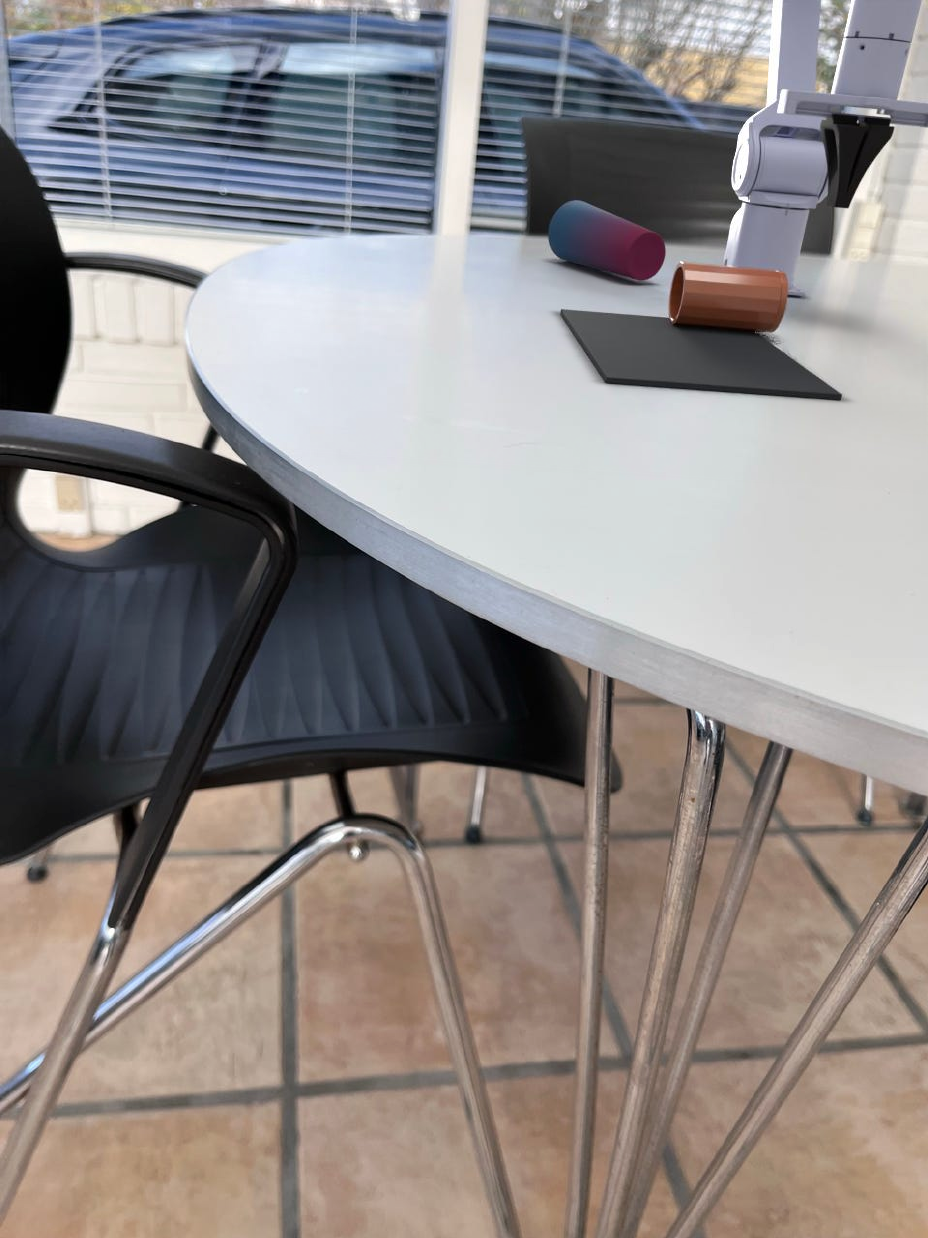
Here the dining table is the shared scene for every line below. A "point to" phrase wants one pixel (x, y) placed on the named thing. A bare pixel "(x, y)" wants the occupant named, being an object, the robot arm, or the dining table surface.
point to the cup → (605, 241)
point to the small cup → (727, 297)
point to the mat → (689, 356)
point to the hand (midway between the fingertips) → (837, 206)
